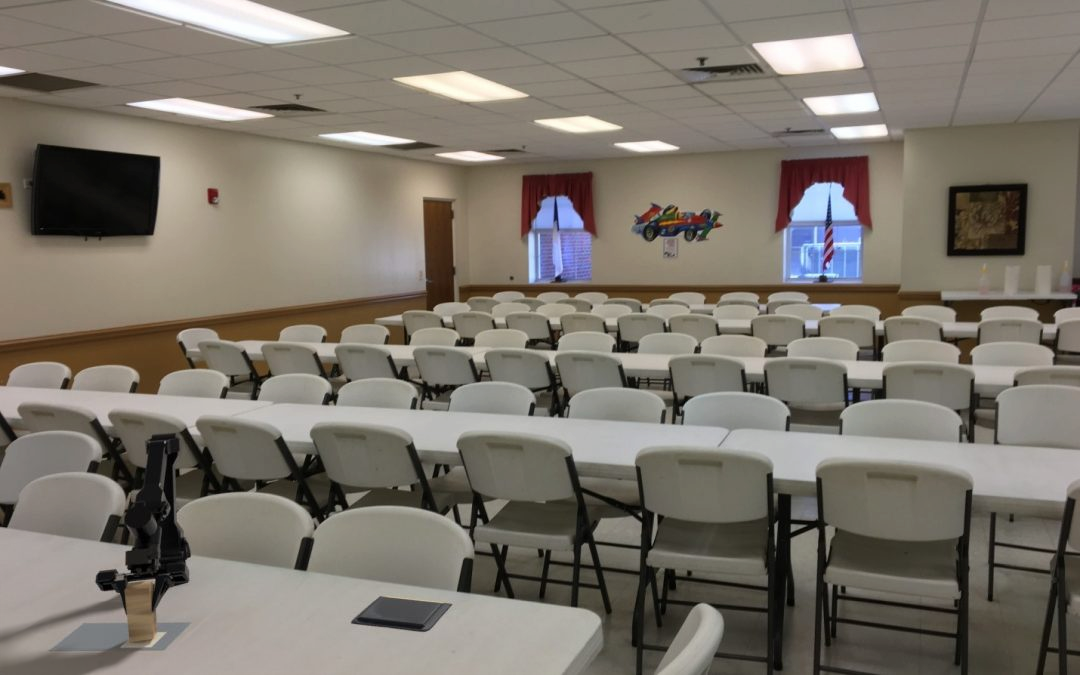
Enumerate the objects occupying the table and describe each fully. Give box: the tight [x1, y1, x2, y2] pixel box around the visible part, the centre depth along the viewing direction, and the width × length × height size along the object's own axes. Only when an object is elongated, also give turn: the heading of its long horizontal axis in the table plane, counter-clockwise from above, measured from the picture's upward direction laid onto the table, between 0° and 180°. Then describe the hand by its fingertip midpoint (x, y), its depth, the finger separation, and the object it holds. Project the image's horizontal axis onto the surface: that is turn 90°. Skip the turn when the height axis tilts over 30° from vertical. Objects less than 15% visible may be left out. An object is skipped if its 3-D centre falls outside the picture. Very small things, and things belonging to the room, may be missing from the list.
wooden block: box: [125, 579, 158, 642], centre depth 186 cm, size 4×5×12 cm
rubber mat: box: [48, 621, 192, 652], centre depth 189 cm, size 26×13×1 cm, turn 87°
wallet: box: [350, 595, 453, 633], centre depth 198 cm, size 20×2×15 cm
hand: (139, 613), depth 185 cm, fingers closed on wooden block, 5 cm apart
